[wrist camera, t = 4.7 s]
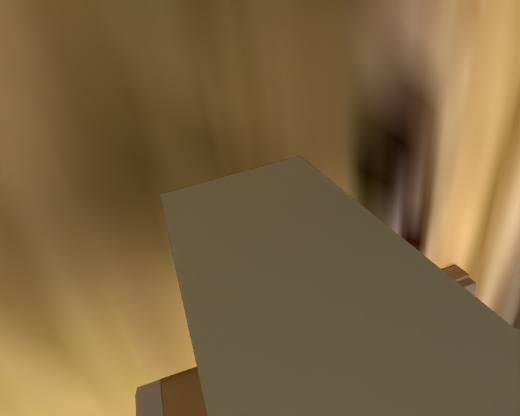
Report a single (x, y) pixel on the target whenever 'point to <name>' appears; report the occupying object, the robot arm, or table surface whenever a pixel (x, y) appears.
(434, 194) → the table surface
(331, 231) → the block
